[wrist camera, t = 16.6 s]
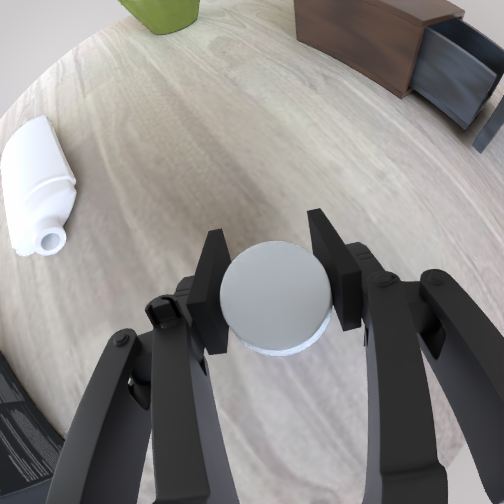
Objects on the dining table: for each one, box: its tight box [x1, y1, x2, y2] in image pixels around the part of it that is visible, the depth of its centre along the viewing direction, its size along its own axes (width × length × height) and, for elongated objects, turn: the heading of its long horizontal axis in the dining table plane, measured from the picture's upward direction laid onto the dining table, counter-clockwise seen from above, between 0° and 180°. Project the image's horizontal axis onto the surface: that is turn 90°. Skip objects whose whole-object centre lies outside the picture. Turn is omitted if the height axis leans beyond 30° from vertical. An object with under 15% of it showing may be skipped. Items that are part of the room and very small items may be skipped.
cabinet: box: [294, 0, 465, 99], centre depth 20 cm, size 15×13×10 cm
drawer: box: [409, 17, 504, 154], centre depth 16 cm, size 20×11×8 cm, turn 39°
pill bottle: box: [220, 241, 333, 356], centre depth 14 cm, size 5×5×8 cm
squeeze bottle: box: [1, 115, 77, 257], centre depth 23 cm, size 10×20×5 cm, turn 42°
